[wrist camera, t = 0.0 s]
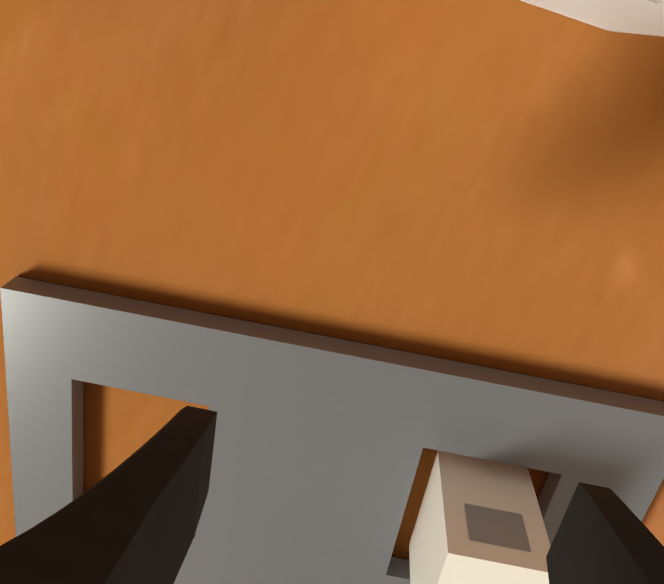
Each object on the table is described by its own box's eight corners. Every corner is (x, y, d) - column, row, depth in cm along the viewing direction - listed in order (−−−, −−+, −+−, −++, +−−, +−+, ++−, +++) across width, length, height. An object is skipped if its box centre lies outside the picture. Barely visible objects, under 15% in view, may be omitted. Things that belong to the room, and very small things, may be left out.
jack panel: (561, 644, 28) (569, 672, 27) (29, 539, 28) (13, 562, 27) (680, 404, 22) (696, 427, 21) (16, 276, 23) (-5, 291, 21)
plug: (476, 599, 27) (493, 717, 23) (396, 583, 27) (397, 698, 23) (528, 465, 24) (559, 573, 20) (437, 448, 24) (448, 551, 20)
